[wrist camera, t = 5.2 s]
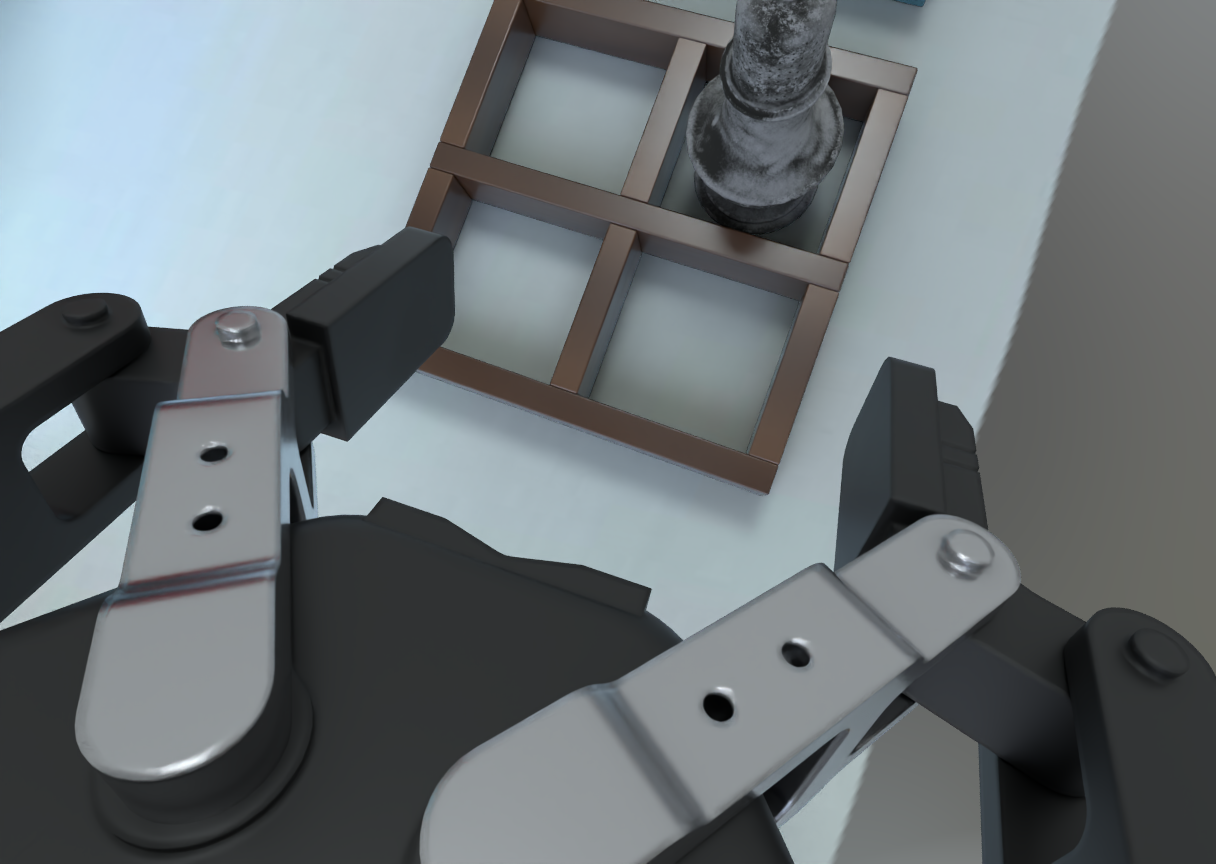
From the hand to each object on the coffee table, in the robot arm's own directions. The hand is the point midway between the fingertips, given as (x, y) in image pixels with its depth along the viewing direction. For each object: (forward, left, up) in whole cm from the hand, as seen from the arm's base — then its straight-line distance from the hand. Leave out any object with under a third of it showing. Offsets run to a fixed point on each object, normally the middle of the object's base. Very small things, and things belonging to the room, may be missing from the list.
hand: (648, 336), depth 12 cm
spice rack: (+2, +9, -17) cm, 19 cm away
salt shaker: (+7, +9, -17) cm, 20 cm away
